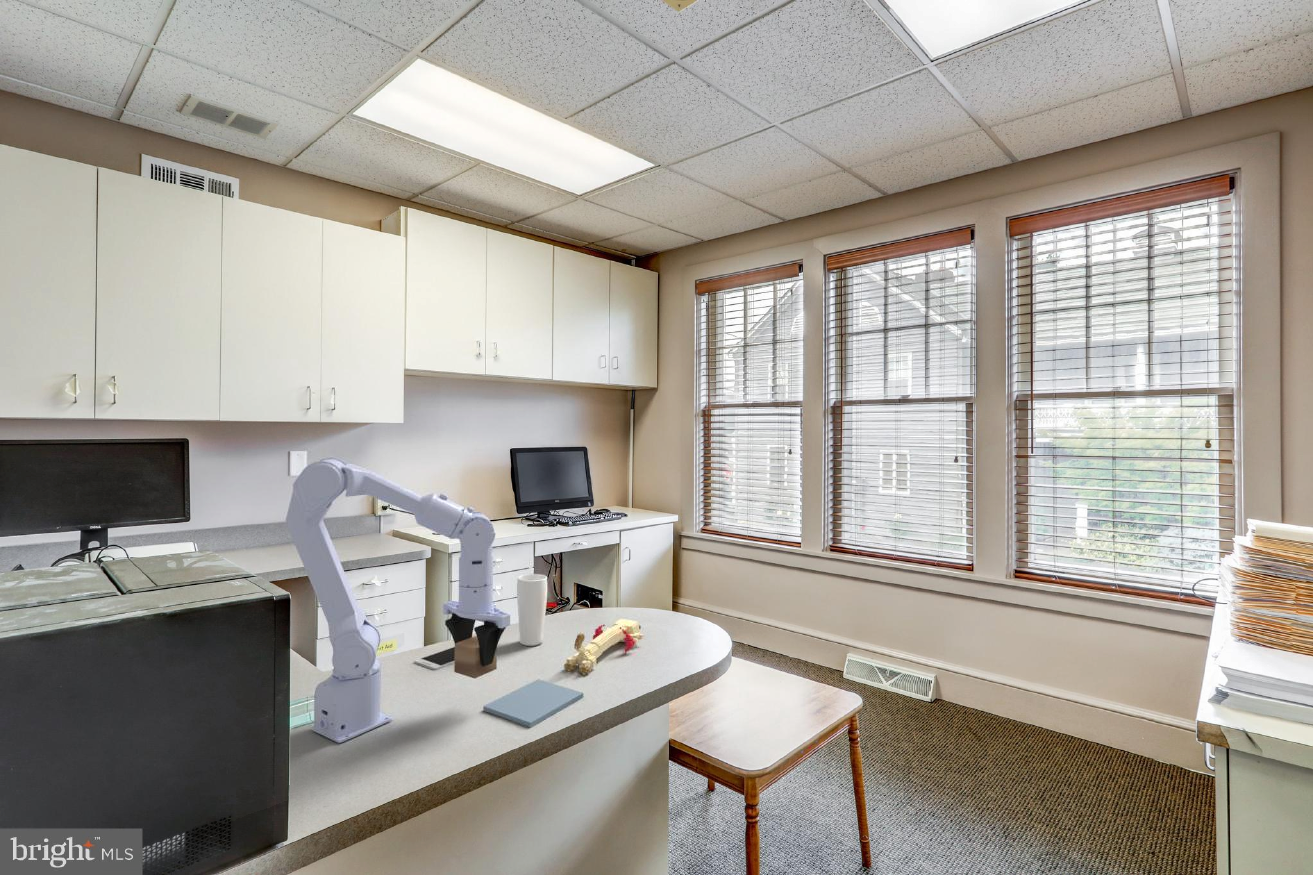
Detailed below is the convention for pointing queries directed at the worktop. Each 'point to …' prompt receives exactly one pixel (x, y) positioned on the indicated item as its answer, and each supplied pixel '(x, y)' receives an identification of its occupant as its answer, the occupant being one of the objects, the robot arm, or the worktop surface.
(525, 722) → the slate board
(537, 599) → the drinking glass
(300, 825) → the worktop surface
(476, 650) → the walnut cube
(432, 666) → the smartphone
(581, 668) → the cream long lumpy piece
